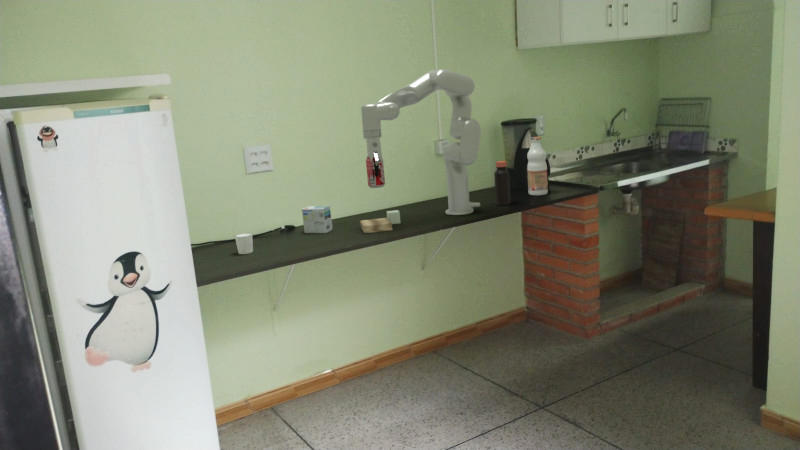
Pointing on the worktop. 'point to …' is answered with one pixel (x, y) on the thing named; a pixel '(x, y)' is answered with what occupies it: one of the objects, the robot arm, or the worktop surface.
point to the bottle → (502, 184)
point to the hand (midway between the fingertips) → (375, 176)
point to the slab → (376, 225)
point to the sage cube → (394, 216)
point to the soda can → (377, 181)
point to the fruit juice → (537, 168)
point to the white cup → (244, 243)
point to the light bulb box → (317, 219)
